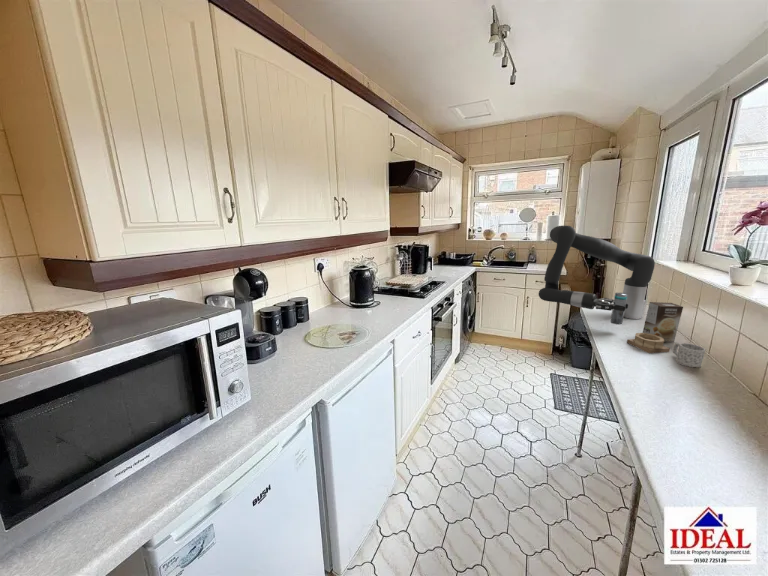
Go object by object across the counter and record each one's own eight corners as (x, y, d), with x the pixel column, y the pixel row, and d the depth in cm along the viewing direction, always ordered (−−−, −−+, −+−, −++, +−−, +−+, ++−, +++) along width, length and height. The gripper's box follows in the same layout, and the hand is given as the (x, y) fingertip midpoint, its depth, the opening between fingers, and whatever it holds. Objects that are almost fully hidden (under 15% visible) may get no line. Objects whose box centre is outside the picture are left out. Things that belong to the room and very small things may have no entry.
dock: (645, 341, 130) (647, 331, 129) (669, 351, 120) (671, 341, 119) (626, 342, 129) (628, 333, 128) (649, 353, 119) (651, 342, 118)
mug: (706, 367, 108) (710, 351, 106) (686, 367, 108) (691, 350, 107) (681, 355, 118) (685, 339, 116) (663, 354, 118) (667, 339, 116)
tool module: (616, 320, 141) (621, 292, 138) (624, 324, 137) (630, 294, 133) (607, 321, 141) (612, 292, 137) (615, 324, 136) (621, 295, 133)
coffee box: (652, 341, 130) (660, 306, 126) (641, 335, 136) (648, 301, 132) (675, 342, 129) (683, 306, 125) (663, 336, 135) (671, 302, 131)
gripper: (579, 295, 142) (624, 303, 129) (588, 290, 151) (631, 296, 138) (577, 310, 144) (621, 319, 131) (586, 304, 153) (628, 311, 140)
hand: (626, 307), depth 135 cm, fingers closed on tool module, 4 cm apart
